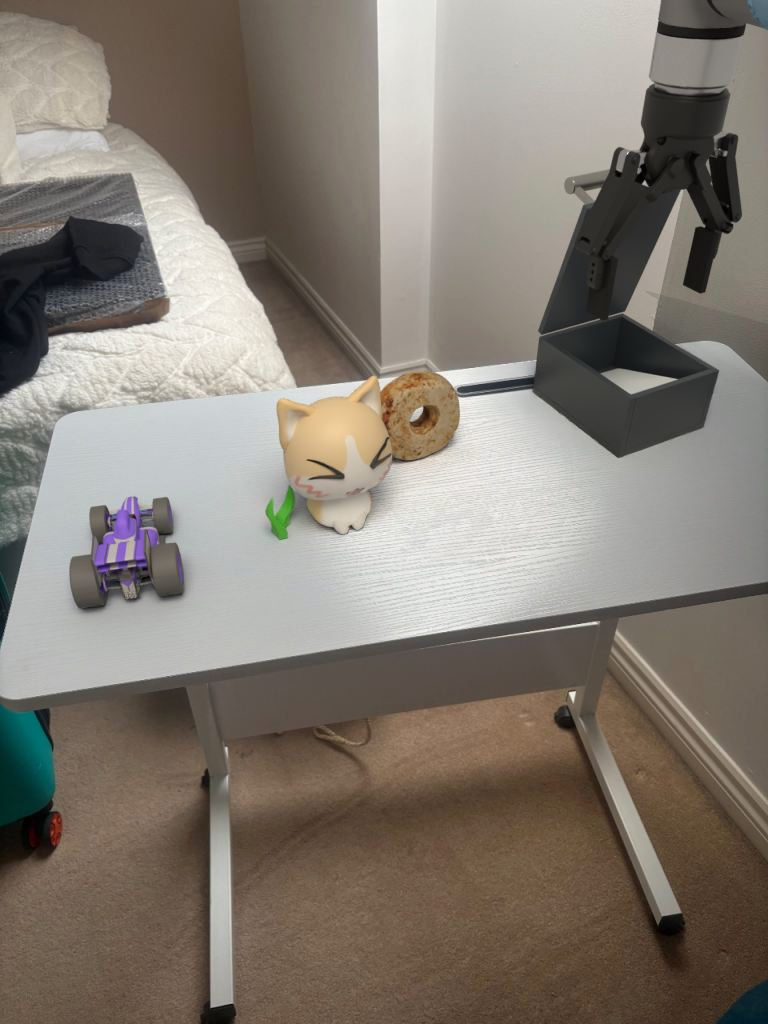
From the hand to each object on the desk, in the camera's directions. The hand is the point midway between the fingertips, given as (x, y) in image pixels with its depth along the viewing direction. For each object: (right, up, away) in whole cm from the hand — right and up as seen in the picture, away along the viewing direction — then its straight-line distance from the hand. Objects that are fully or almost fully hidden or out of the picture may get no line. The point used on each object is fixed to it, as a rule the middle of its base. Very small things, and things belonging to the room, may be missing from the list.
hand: (646, 301), depth 90 cm
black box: (0, -10, +13) cm, 16 cm away
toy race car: (-53, -28, -7) cm, 60 cm away
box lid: (-2, +6, +6) cm, 9 cm away
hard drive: (+1, -9, +10) cm, 13 cm away
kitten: (-33, -23, -2) cm, 41 cm away
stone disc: (-25, -16, +6) cm, 30 cm away
